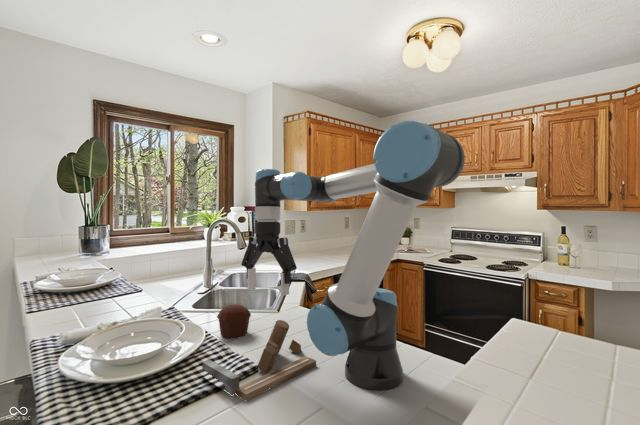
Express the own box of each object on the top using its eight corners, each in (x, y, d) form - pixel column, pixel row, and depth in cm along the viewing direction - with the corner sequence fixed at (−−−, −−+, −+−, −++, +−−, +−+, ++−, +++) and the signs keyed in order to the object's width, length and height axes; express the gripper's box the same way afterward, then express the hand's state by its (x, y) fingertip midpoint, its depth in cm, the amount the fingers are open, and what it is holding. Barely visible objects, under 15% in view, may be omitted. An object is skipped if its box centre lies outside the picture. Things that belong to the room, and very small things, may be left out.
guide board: (316, 365, 92) (316, 351, 92) (242, 403, 73) (242, 385, 73) (275, 349, 103) (275, 336, 103) (202, 377, 84) (202, 362, 84)
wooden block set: (268, 383, 87) (281, 351, 85) (243, 365, 90) (255, 333, 88) (299, 354, 104) (310, 327, 102) (277, 340, 107) (288, 312, 105)
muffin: (254, 329, 121) (255, 302, 121) (245, 340, 110) (245, 310, 110) (223, 328, 122) (224, 301, 122) (211, 338, 111) (211, 309, 111)
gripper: (308, 221, 95) (308, 294, 94) (248, 221, 109) (247, 285, 108) (291, 220, 89) (292, 300, 88) (230, 221, 103) (229, 289, 102)
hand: (267, 292), depth 98 cm, fingers open, 13 cm apart
